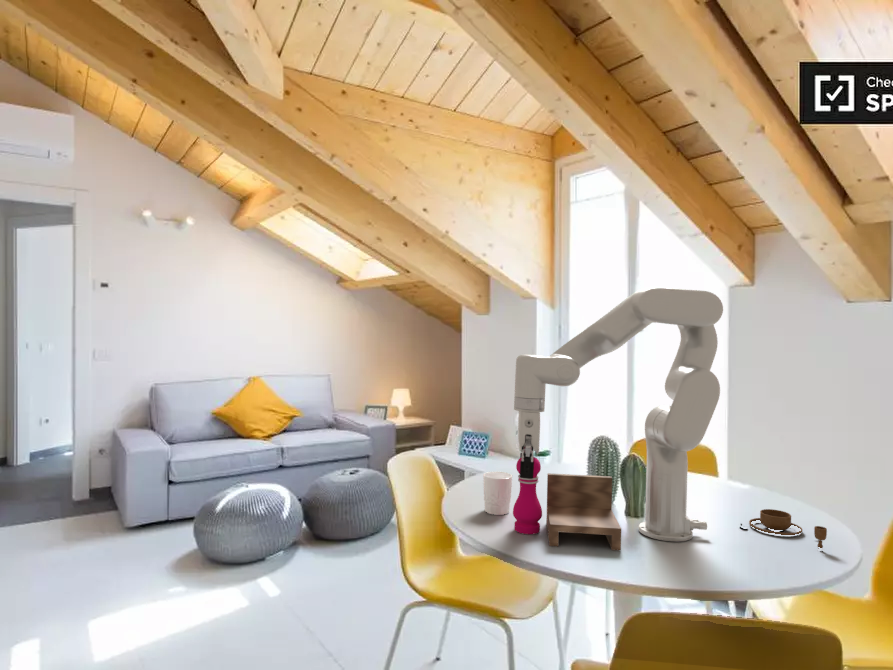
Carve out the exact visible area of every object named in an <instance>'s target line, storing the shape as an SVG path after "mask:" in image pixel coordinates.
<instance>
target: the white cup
mask: <svg viewBox="0 0 893 670" xmlns="http://www.w3.org/2000/svg"><path fill="white" fill-rule="evenodd" d="M482 481H483V501H484V511H485V513H486V512H487V514H489V515H493V514H494V516H503V515H504V514H505V515H508V514H509V513H510V510H511V509H510V507H511V498H512V487H513V485H512V484H513V483H512V482H513V475H512V474H511V473H508V472H504V471H488V472H484V473H483V480H482Z"/></svg>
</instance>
